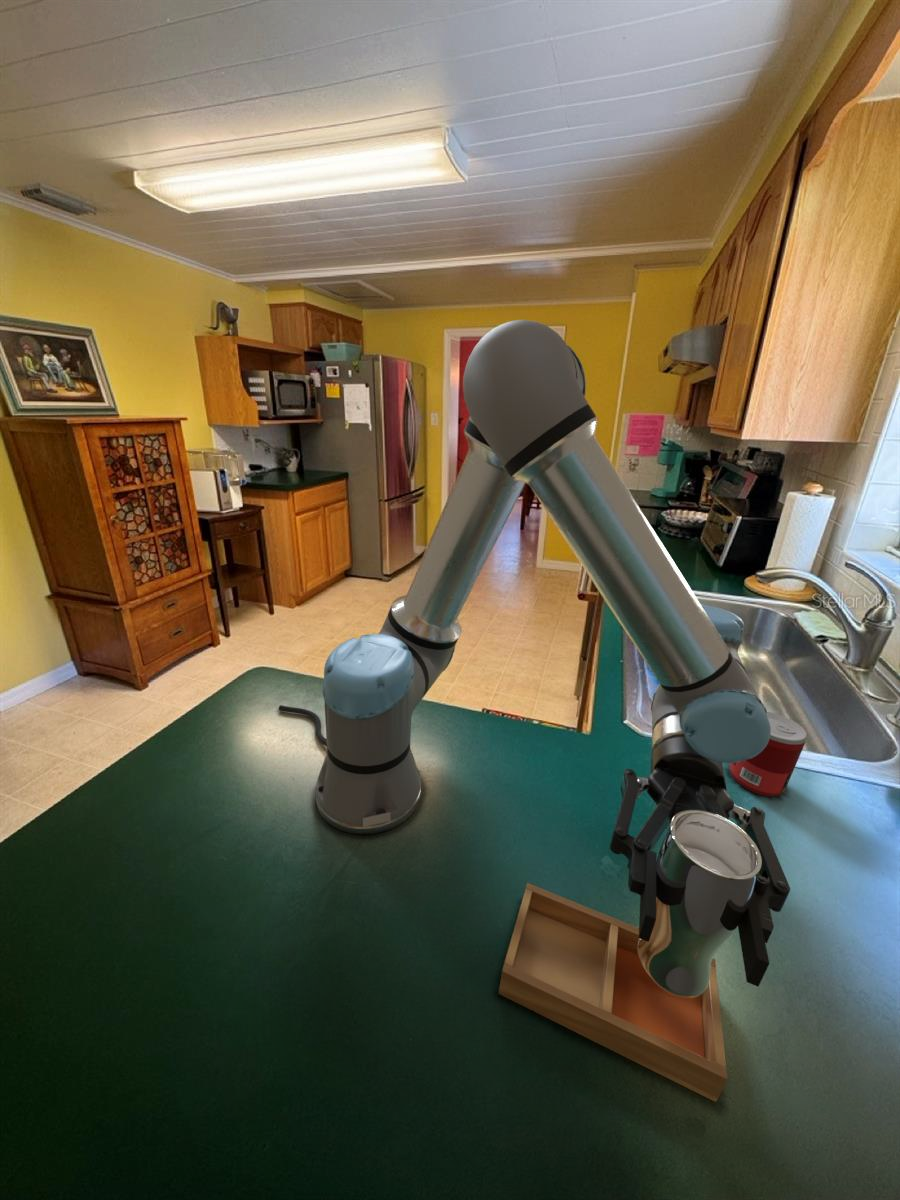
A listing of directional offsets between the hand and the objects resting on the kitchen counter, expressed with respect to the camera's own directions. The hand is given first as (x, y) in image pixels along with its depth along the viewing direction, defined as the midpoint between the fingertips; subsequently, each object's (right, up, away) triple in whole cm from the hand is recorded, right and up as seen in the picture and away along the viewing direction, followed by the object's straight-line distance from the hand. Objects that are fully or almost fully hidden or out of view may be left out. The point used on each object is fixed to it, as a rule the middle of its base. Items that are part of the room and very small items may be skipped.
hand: (700, 949), depth 36 cm
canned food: (+31, -3, +42) cm, 52 cm away
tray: (-3, -13, +12) cm, 18 cm away
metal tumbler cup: (+1, -7, +8) cm, 10 cm away
